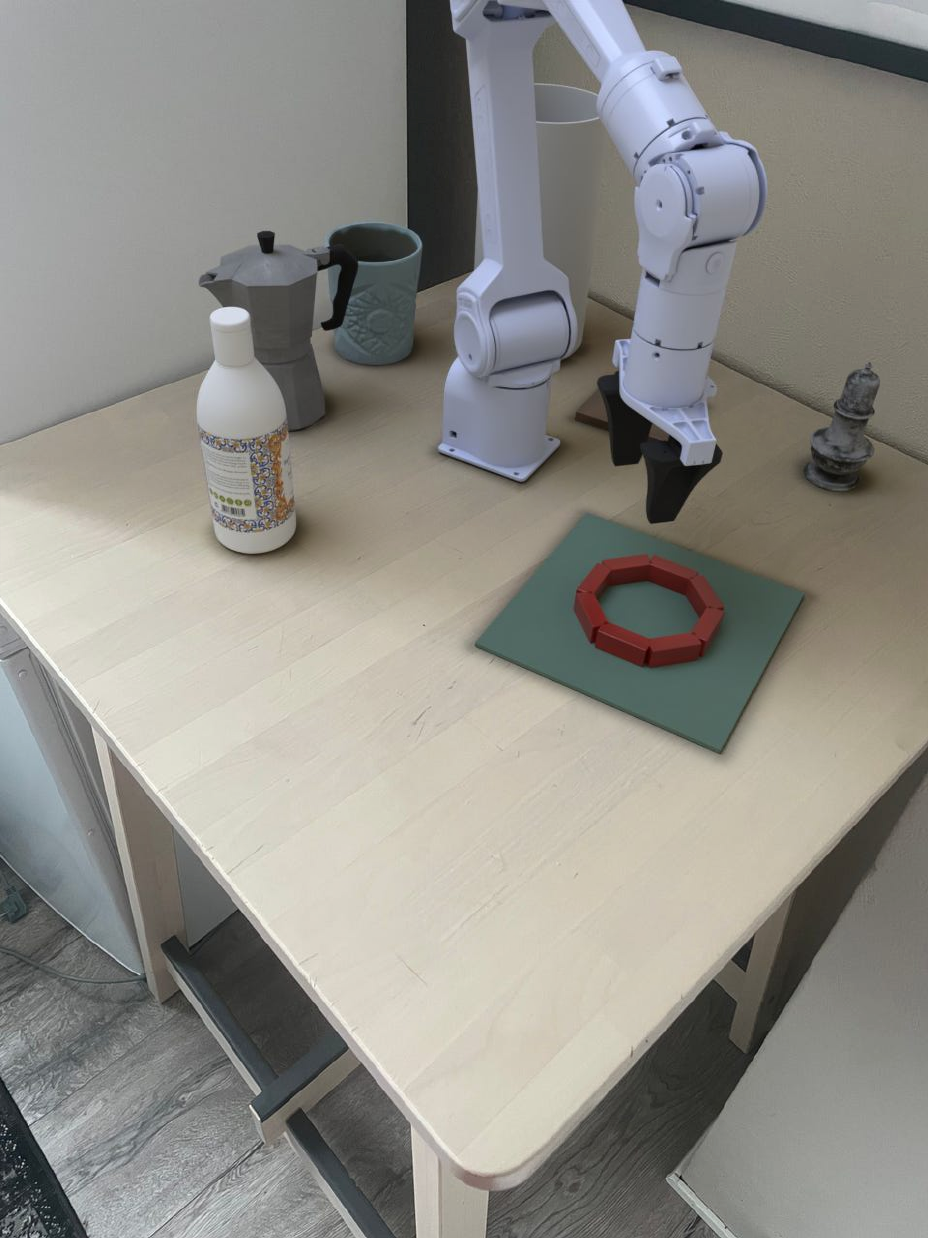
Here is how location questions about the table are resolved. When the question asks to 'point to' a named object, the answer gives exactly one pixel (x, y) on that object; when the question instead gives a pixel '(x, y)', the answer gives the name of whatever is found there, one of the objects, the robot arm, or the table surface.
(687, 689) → the mat
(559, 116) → the cylinder vase
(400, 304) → the teal embossed mug
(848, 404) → the salt shaker
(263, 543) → the bath foam
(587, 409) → the ring holder
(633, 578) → the ring
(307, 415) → the coffeepot
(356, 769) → the table surface
